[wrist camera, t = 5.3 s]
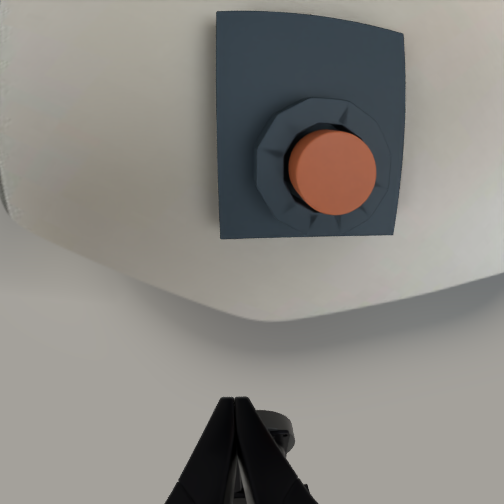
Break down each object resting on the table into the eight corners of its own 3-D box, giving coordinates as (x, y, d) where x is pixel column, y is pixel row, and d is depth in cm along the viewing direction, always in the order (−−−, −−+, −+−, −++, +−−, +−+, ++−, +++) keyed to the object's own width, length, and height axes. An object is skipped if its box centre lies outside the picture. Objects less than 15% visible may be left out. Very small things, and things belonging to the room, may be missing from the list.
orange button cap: (358, 204, 14) (372, 215, 13) (287, 204, 14) (294, 216, 13) (363, 132, 13) (379, 135, 11) (288, 127, 13) (296, 128, 11)
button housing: (377, 223, 19) (408, 247, 15) (221, 225, 18) (219, 253, 14) (386, 40, 14) (420, 27, 10) (217, 23, 13) (214, -2, 10)
